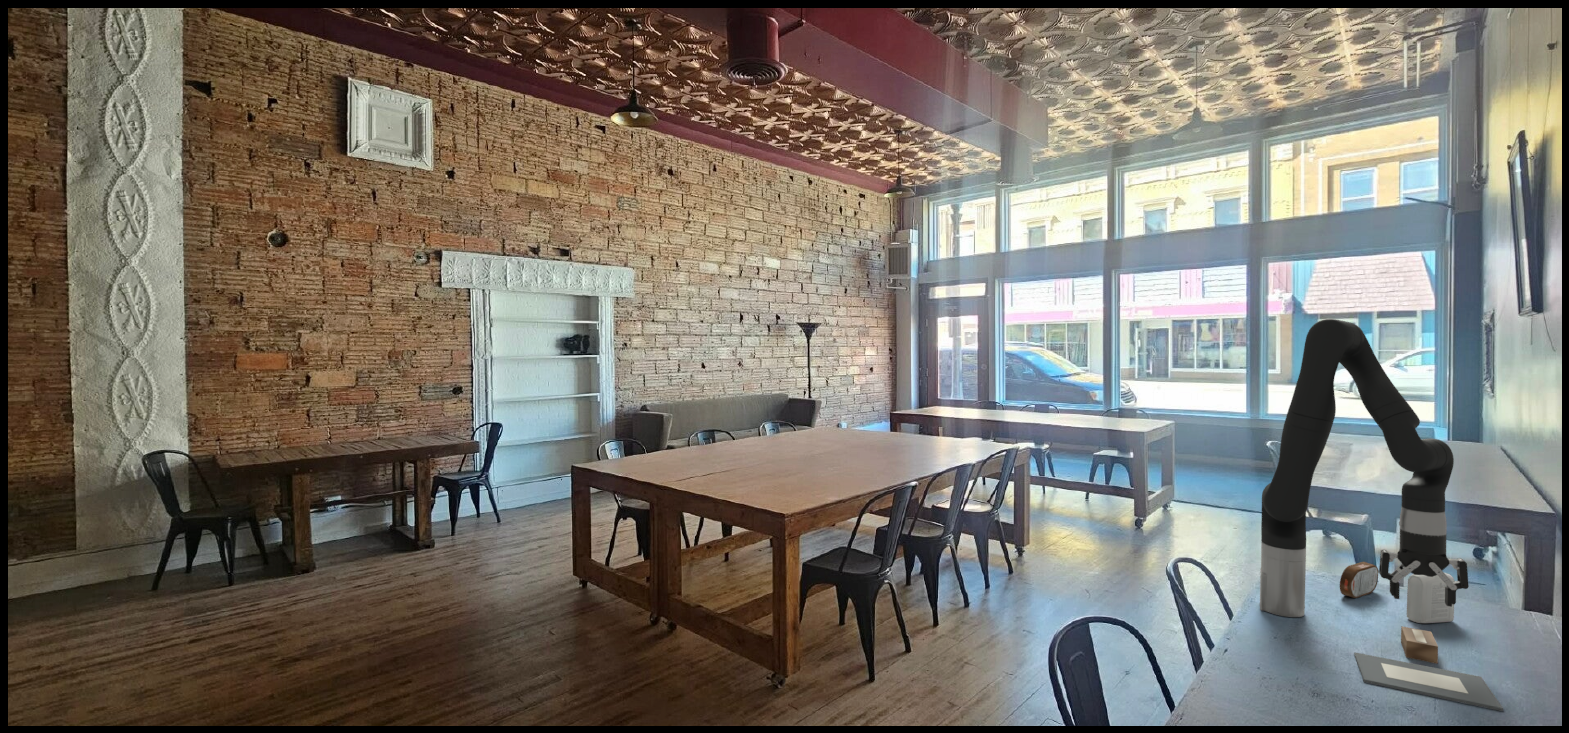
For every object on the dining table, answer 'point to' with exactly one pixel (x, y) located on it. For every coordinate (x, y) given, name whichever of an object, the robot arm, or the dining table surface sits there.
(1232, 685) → the dining table surface
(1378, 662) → the mat
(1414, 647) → the card box
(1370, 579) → the tin
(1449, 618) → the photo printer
